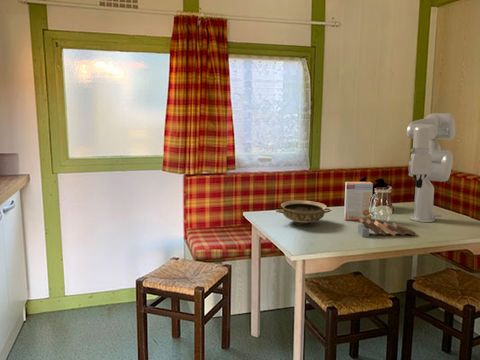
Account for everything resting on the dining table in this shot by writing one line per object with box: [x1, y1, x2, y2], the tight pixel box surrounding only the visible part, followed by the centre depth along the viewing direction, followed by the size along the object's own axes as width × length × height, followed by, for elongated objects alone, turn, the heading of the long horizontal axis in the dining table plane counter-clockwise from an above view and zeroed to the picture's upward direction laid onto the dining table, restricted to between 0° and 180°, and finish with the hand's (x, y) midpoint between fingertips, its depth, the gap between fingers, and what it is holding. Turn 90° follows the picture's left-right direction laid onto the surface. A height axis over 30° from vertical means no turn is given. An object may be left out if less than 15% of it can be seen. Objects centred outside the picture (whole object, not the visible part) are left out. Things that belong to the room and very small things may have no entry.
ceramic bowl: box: [275, 199, 332, 226], centre depth 236 cm, size 30×24×10 cm
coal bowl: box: [358, 176, 389, 195], centre depth 268 cm, size 20×20×19 cm
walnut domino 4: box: [391, 222, 416, 237], centre depth 217 cm, size 2×5×10 cm
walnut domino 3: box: [382, 221, 407, 237], centre depth 217 cm, size 2×5×10 cm
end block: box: [357, 223, 370, 238], centre depth 217 cm, size 3×8×4 cm, turn 1°
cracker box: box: [343, 181, 374, 222], centre depth 243 cm, size 14×6×21 cm, turn 84°
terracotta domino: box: [373, 220, 397, 237], centre depth 217 cm, size 2×5×10 cm
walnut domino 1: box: [359, 218, 380, 235], centre depth 216 cm, size 2×5×10 cm
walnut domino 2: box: [366, 219, 388, 237], centre depth 216 cm, size 2×5×10 cm
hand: (418, 187), depth 224 cm, fingers closed
